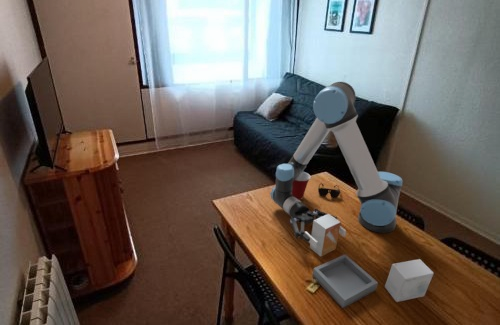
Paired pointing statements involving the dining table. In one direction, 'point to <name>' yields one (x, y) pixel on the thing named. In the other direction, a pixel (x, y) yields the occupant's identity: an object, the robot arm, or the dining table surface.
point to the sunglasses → (332, 191)
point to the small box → (325, 234)
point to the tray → (344, 280)
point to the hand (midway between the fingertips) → (331, 239)
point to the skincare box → (408, 280)
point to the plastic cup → (300, 185)
